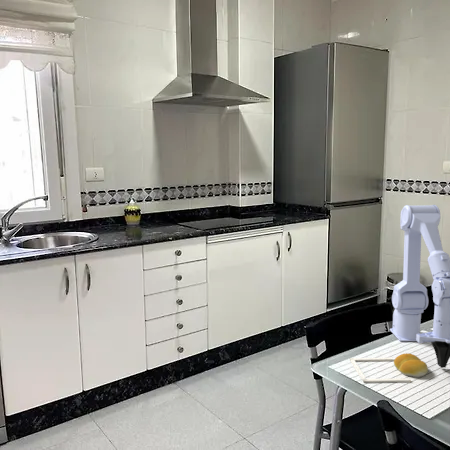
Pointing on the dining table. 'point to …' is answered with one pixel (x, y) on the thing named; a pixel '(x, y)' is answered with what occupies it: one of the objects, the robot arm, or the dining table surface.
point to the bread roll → (410, 365)
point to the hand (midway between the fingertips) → (441, 365)
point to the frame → (375, 379)
